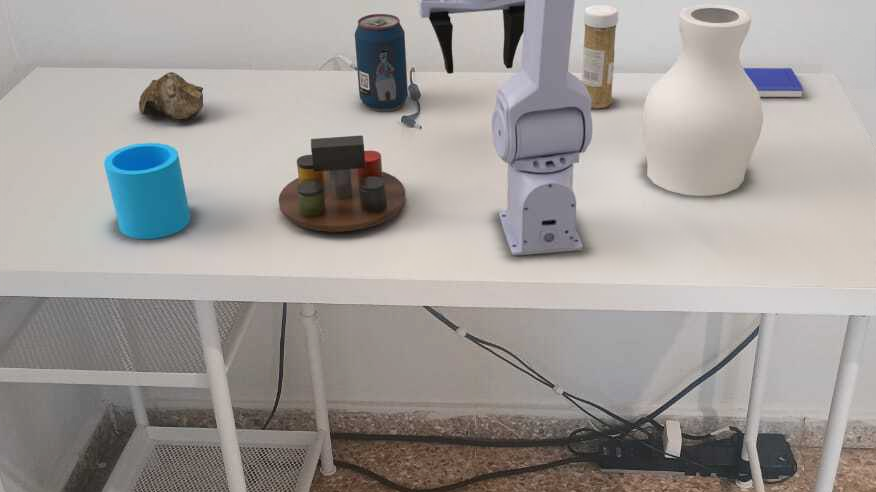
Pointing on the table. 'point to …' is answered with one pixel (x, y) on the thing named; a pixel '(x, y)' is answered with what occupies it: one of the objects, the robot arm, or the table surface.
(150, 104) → the fossilized seashell
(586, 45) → the sprinkles bottle
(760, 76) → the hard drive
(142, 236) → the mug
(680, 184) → the vase
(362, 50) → the soda can
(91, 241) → the table surface
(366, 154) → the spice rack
